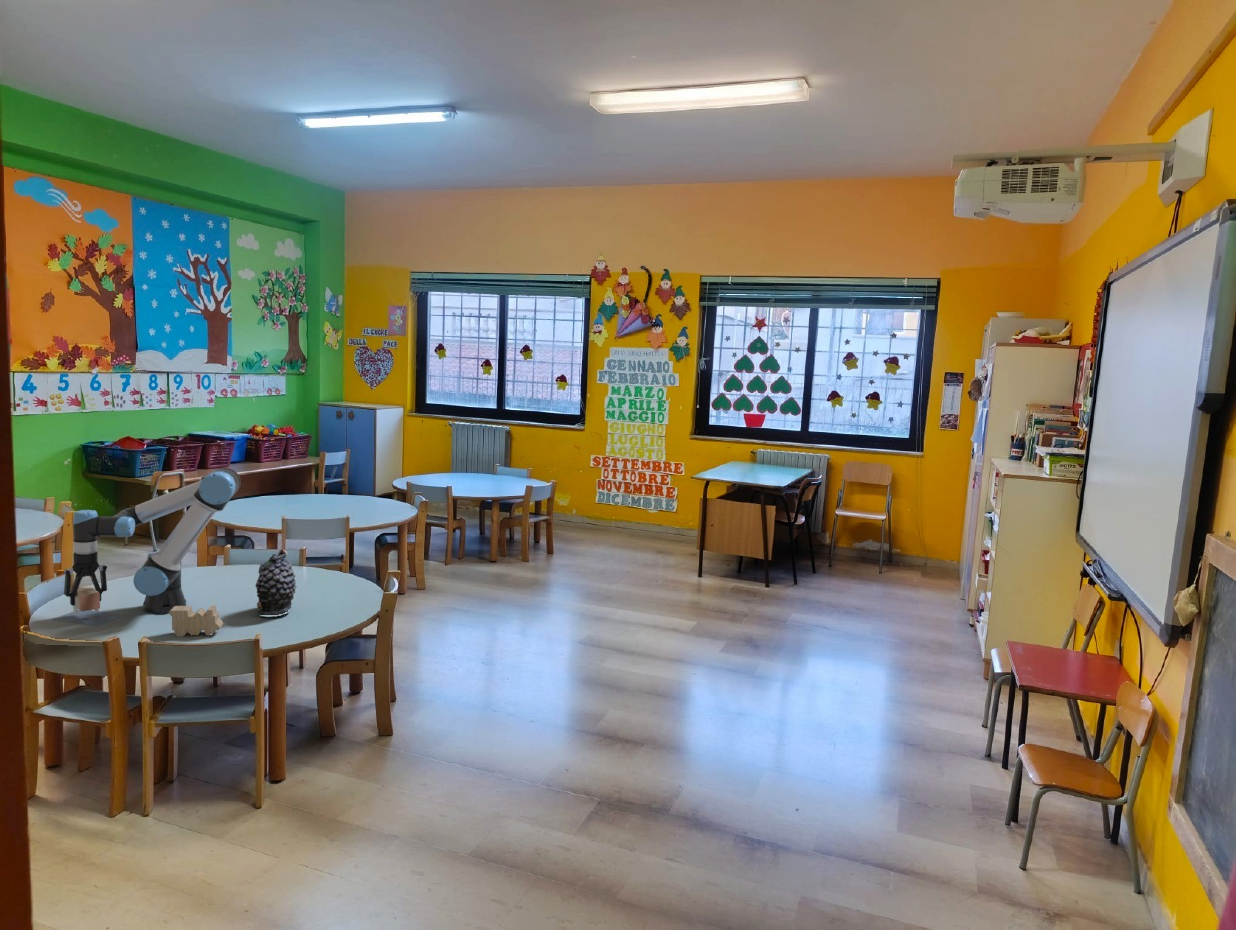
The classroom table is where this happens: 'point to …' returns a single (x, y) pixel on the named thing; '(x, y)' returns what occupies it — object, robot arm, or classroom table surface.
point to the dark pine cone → (275, 585)
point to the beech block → (88, 598)
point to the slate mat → (88, 617)
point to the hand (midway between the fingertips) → (86, 611)
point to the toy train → (195, 620)
